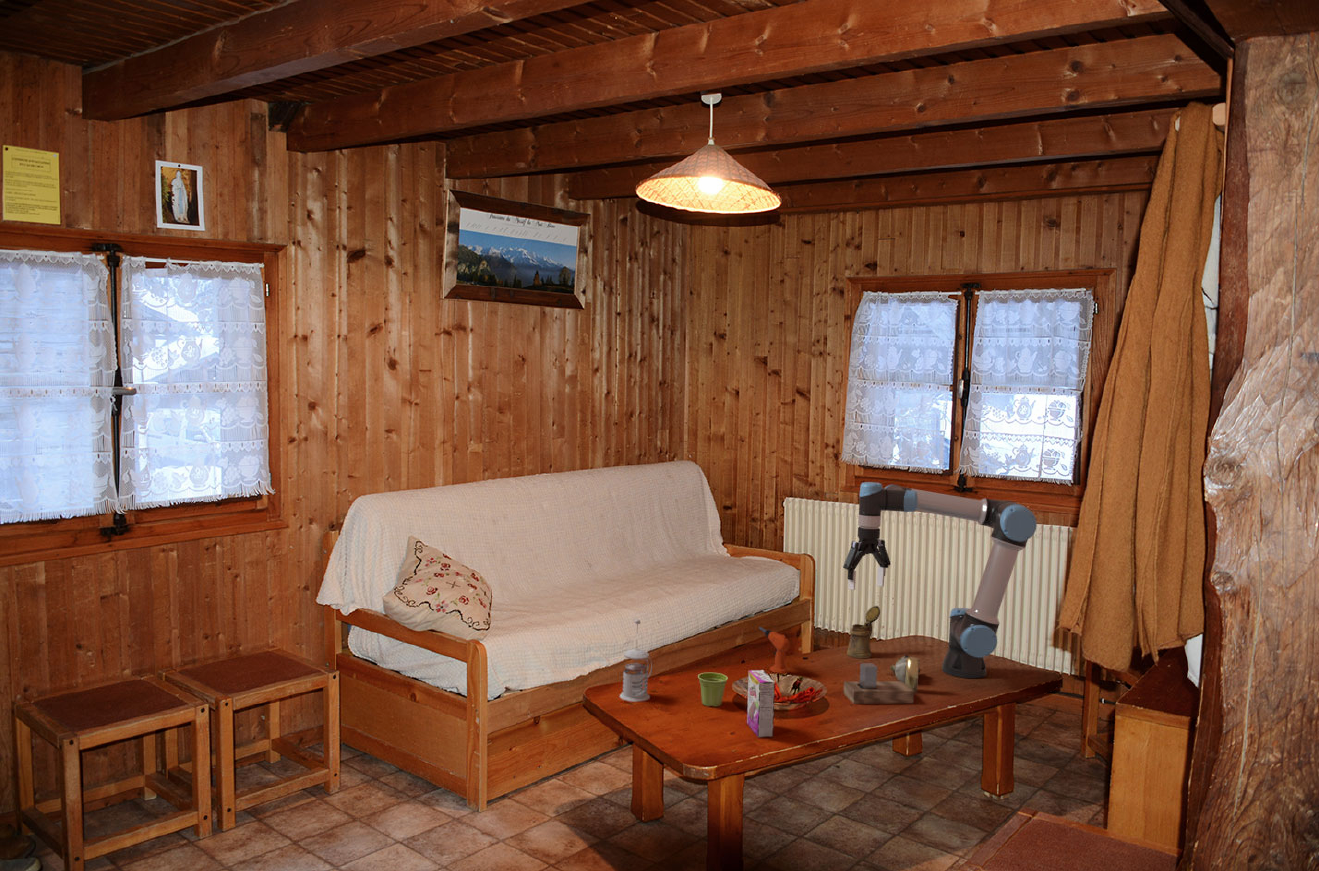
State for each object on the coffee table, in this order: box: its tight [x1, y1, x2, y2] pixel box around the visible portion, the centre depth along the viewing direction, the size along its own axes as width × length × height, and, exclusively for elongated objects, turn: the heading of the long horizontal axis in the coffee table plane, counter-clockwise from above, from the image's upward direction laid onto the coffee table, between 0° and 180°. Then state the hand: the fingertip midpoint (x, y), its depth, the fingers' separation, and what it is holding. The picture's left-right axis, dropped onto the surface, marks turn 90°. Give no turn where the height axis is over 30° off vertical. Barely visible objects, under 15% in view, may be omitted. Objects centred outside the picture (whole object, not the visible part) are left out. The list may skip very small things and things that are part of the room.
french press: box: [619, 619, 653, 703], centre depth 308 cm, size 10×12×25 cm
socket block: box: [843, 680, 915, 705], centre depth 315 cm, size 20×10×4 cm, turn 97°
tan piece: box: [846, 605, 881, 659], centre depth 364 cm, size 9×14×18 cm, turn 125°
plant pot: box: [697, 671, 729, 707], centre depth 304 cm, size 9×9×9 cm
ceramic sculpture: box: [889, 654, 922, 683], centre depth 337 cm, size 11×9×15 cm
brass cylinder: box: [905, 656, 920, 694], centre depth 323 cm, size 4×4×11 cm
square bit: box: [859, 662, 878, 689], centre depth 314 cm, size 4×4×11 cm
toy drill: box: [758, 626, 791, 673], centre depth 342 cm, size 5×18×14 cm, turn 28°
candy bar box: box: [746, 669, 776, 738], centre depth 282 cm, size 11×5×16 cm, turn 12°
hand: (866, 587), depth 335 cm, fingers open, 13 cm apart
